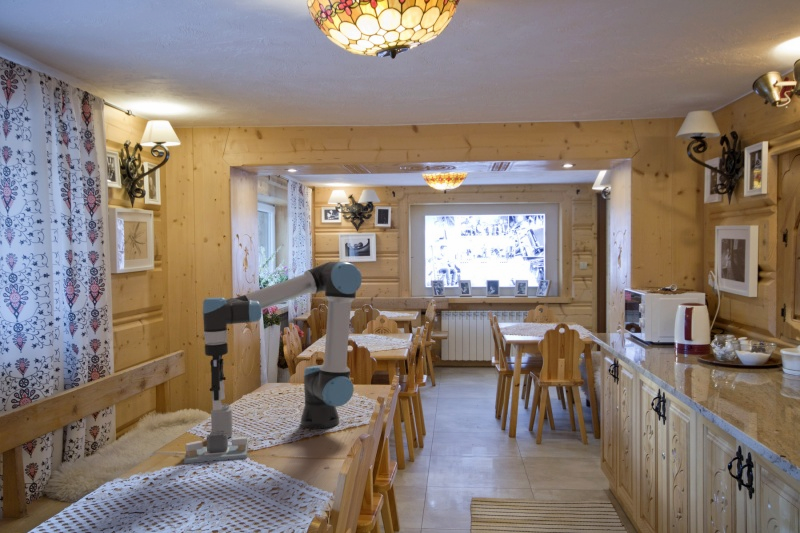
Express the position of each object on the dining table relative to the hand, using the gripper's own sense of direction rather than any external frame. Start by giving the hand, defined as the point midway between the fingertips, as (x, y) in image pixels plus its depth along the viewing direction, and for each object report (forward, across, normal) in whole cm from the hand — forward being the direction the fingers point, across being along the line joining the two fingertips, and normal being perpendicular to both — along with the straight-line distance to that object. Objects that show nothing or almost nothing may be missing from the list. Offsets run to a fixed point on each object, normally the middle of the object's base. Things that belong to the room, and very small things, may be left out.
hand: (218, 404), depth 206 cm
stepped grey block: (+16, +1, -1) cm, 16 cm away
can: (+17, -18, -1) cm, 25 cm away
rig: (+17, +1, -1) cm, 17 cm away
